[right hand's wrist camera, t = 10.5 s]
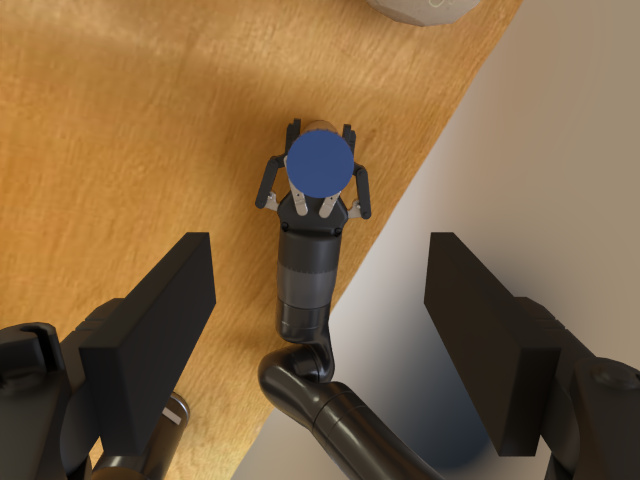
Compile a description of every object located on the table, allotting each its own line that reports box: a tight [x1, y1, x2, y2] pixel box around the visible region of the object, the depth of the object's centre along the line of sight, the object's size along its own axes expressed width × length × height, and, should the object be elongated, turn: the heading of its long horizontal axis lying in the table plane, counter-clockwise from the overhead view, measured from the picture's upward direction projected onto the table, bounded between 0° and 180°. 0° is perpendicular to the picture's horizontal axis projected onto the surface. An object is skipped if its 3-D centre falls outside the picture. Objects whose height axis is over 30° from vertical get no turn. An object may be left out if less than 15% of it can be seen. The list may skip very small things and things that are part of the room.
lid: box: [286, 128, 354, 198], centre depth 35 cm, size 6×6×2 cm
